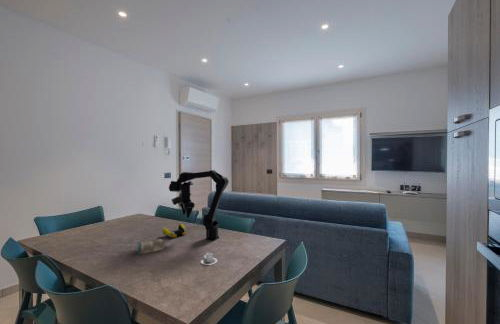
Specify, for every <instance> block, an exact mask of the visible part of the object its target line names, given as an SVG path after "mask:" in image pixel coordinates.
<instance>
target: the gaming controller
mask: <svg viewBox="0 0 500 324" xmlns="http://www.w3.org/2000/svg"><path fill="white" fill-rule="evenodd" d="M161 233H162V234H163V235H165V236H166V237H169V238H171V239H174V238H179V237H181V236H185V235H186V233H187V229H186V227H185V225H184V224H182V223H179V224H178V229H175V230H173V231H171V230H169V229H167V227H163V228H162V231H161Z"/></svg>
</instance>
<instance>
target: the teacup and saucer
mask: <svg viewBox="0 0 500 324" xmlns="http://www.w3.org/2000/svg"><path fill="white" fill-rule="evenodd" d="M213 255H214V253H213V252H206V254H204V255H203V258H202V259H201V260H200V263H201V265H204V266H211V265H215V264H217V262H218V259H217V258H215V257H214V256H213ZM204 261H206V262H207V263H205V262H204ZM212 261H214V262H212Z"/></svg>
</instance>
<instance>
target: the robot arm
mask: <svg viewBox="0 0 500 324" xmlns="http://www.w3.org/2000/svg"><path fill="white" fill-rule="evenodd" d="M201 178H211V179H212V180H213V182H214V183H215V192H214V195H213V198H212V200H211V204H210V207H209V211H208V212H206V213H204V216H203V218H202V224H203V226H204V228H205V230H206V231H205V235H206V236H205V237H206V238H205V240H208V241H216V240H217V239H219V238H220V235H219V225H220V223H219V222H218V221H217V211H218V207H219V205H220V203H221V202H220V201H221V198H222V196H223V193H224V192H225V190H226V188H227V187H228V185H229V179H228V178H227V177H226V176H223V175H222V174H221V173H218V172H217V171H216V170H214V169H213V170H212V169H211V170H206V171H200V172H193V171H192V172H190V171H186V172H181V173H180V174H179V177H178V178H177V180H176V181H175V180H171V181H170V183H169V186H168V190H169V191H170V192H172V193H173V192H178V193H179V192H180V193H179V195H178V196H176V197H174V198H171V202H172V205H174V206H175V205H177V204H178V206H179V207H180V209H181V211H182V215H183V216H185V215H186V219H188V218H190V215H191V214H192V211H193V209H194V207H195V202H194V201H192V199H191V196H192V193H191V186H192V185H194V183H193V182H192V180H195V179H201Z"/></svg>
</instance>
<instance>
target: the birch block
mask: <svg viewBox="0 0 500 324" xmlns="http://www.w3.org/2000/svg"><path fill="white" fill-rule="evenodd" d="M136 246H137V248H136V249H137V250H136V251H137V254H138V255H143V254H147V253H152V252H157V251H162V250H164V240H163V239H162V238H160V239H154V240H148V241H142V242H137V245H136Z"/></svg>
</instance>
